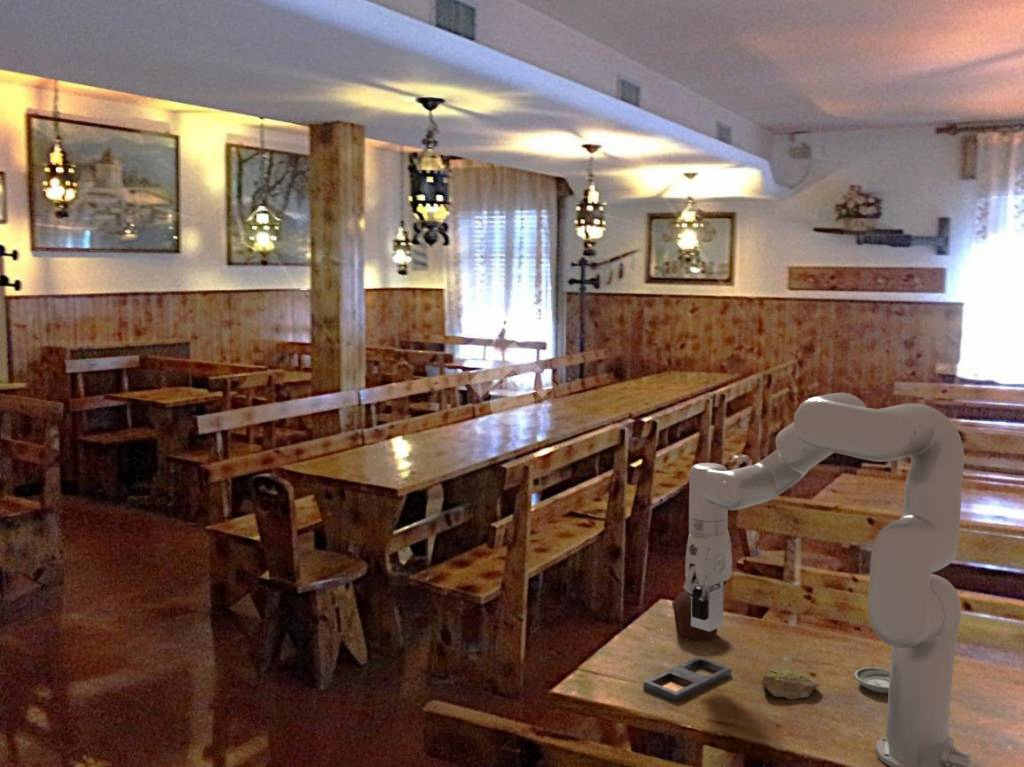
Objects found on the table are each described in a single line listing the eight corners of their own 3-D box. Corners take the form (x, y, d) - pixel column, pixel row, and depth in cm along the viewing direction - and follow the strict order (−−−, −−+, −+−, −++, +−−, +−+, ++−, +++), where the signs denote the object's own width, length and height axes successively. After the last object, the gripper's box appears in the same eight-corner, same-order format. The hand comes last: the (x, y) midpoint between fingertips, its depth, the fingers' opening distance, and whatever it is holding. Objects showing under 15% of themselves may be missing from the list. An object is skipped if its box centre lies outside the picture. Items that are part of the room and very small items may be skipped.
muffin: (711, 648, 208) (712, 603, 207) (663, 637, 214) (664, 594, 212) (729, 630, 218) (730, 587, 217) (683, 621, 224) (684, 579, 222)
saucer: (917, 693, 187) (918, 681, 186) (881, 703, 182) (882, 691, 182) (878, 674, 195) (878, 663, 195) (843, 683, 191) (843, 672, 190)
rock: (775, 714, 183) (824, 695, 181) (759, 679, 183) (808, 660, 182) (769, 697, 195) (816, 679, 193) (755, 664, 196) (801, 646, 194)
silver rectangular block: (722, 626, 192) (723, 587, 191) (709, 631, 189) (710, 592, 188) (704, 620, 195) (704, 582, 195) (690, 625, 192) (691, 587, 192)
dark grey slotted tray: (731, 675, 194) (731, 668, 194) (676, 702, 182) (676, 695, 181) (698, 663, 200) (698, 656, 199) (643, 688, 187) (643, 681, 187)
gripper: (698, 537, 182) (697, 630, 184) (748, 521, 193) (746, 609, 195) (666, 530, 187) (665, 620, 189) (717, 515, 199) (716, 601, 201)
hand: (707, 614), depth 192 cm, fingers closed on silver rectangular block, 4 cm apart
